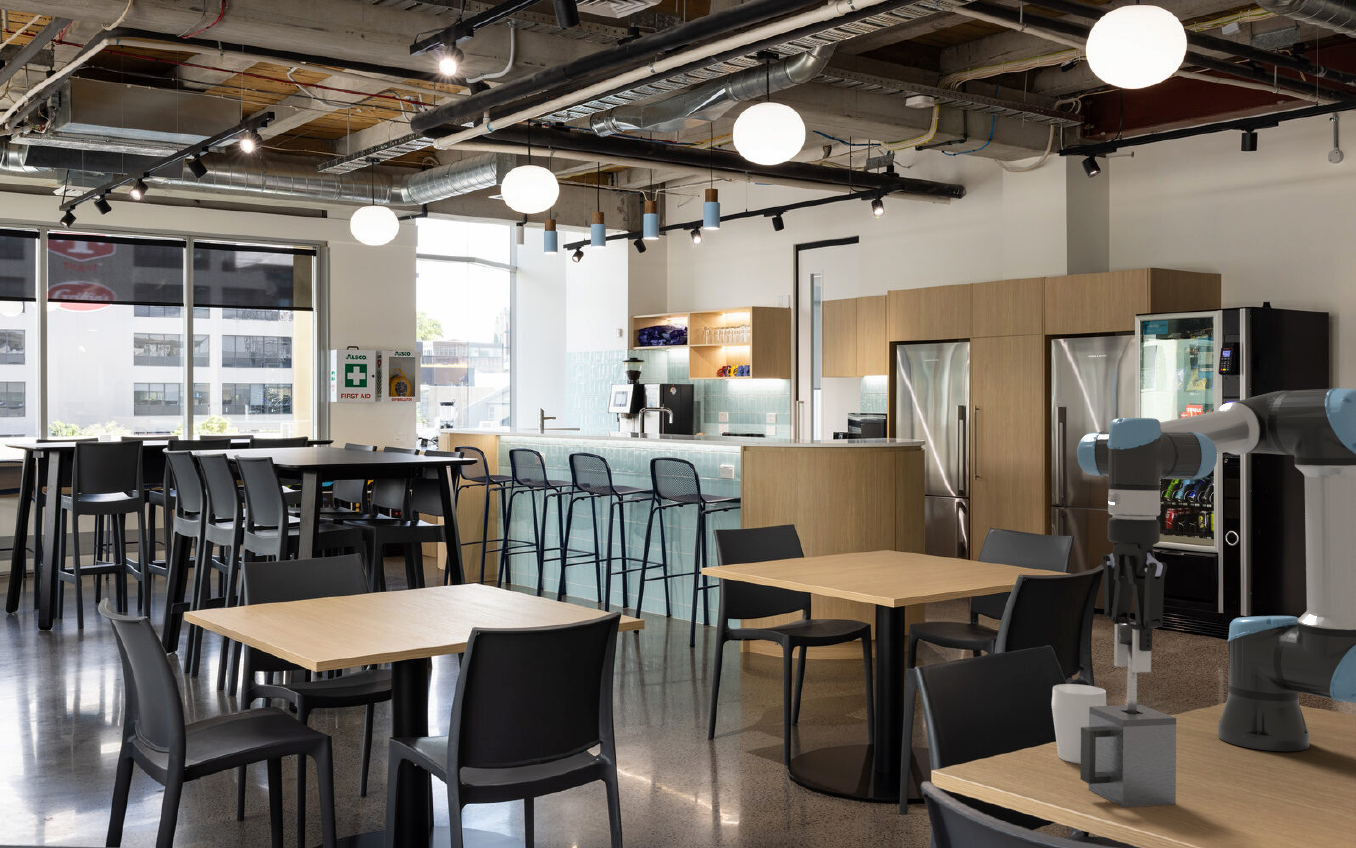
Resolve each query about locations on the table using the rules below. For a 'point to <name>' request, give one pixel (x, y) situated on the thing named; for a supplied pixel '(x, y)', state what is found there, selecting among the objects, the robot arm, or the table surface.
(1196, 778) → the table surface
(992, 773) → the table surface
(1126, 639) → the plunger
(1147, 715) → the grey box with handle
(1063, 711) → the cup
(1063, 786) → the table surface
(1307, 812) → the table surface
